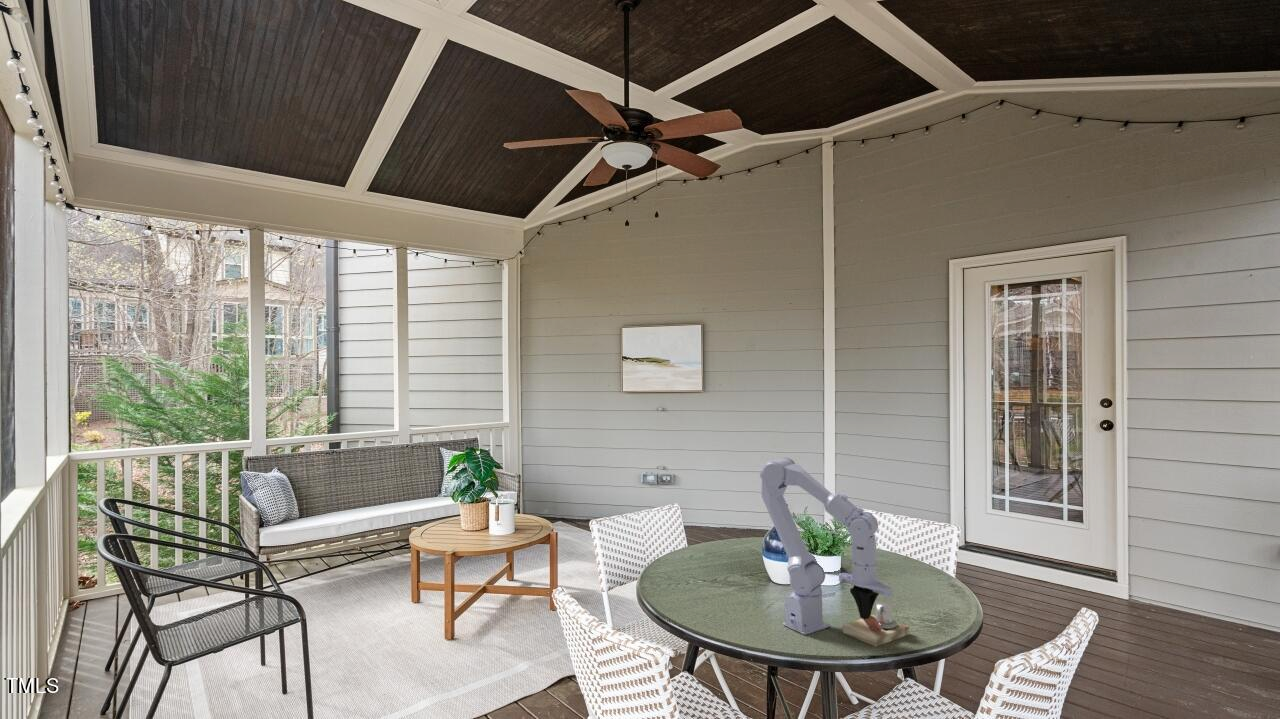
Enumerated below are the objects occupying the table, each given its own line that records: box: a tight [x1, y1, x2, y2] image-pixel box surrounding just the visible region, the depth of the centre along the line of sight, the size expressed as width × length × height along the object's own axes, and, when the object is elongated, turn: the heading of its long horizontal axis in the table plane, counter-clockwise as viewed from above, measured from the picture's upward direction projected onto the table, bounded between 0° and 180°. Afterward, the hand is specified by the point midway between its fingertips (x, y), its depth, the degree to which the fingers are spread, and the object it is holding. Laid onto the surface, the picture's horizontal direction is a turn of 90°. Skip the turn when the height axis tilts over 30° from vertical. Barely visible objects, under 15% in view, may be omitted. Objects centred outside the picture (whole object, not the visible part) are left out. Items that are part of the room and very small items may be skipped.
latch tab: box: [863, 615, 882, 631], centre depth 159 cm, size 4×4×1 cm
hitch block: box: [842, 613, 910, 648], centre depth 161 cm, size 13×10×2 cm
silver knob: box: [875, 601, 898, 631], centre depth 161 cm, size 6×6×7 cm
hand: (865, 617), depth 157 cm, fingers closed, pressing on latch tab
